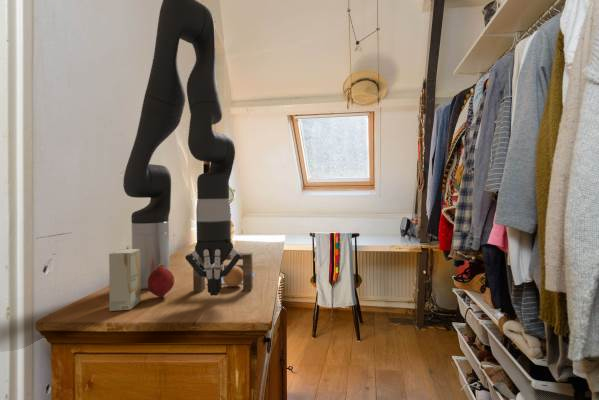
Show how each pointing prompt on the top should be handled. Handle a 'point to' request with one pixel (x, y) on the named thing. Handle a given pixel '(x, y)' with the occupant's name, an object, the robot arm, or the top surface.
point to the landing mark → (241, 283)
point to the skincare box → (124, 279)
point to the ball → (234, 277)
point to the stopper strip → (235, 265)
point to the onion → (160, 281)
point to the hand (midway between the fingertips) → (214, 294)
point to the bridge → (246, 257)
